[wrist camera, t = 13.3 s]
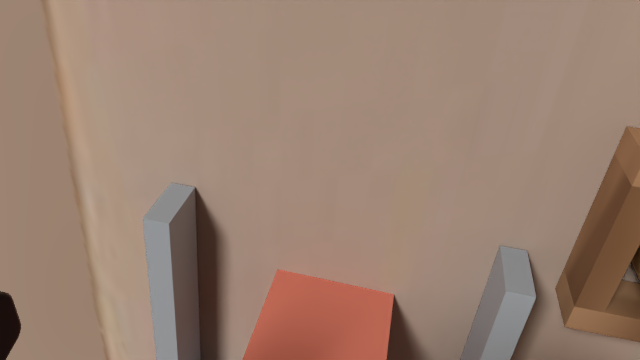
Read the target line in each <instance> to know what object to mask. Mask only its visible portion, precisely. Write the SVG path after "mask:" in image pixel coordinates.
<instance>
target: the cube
mask: <svg viewBox="0 0 640 360" xmlns="http://www.w3.org/2000/svg"><path fill="white" fill-rule="evenodd" d="M393 298H394V294H390V293H385V292H380V291H376V290H371V289H366V288H362V287H357V286H352V285H348V284H343V283H339V282H334V281H329V280H325V279H320V278H315V277H311V276H306V275H301V274H297V273H292V272H288V271H283V270H277V272H276V275H275V278H274V280H273V283H272V285H271V288H270V290H269V293H268V296H267V298H266V301H265V303H264V306H263V308H262V311H261V314H260V316H259V319H258V321H257V324H256V326H255V329H254V332H253V334H252V337H251V339H250V342H249V344H248V347H247V350H246V352H245V355H244V357H243V360H387V351H388V343H389V334H390V325H391V316H392V307H393Z"/></svg>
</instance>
